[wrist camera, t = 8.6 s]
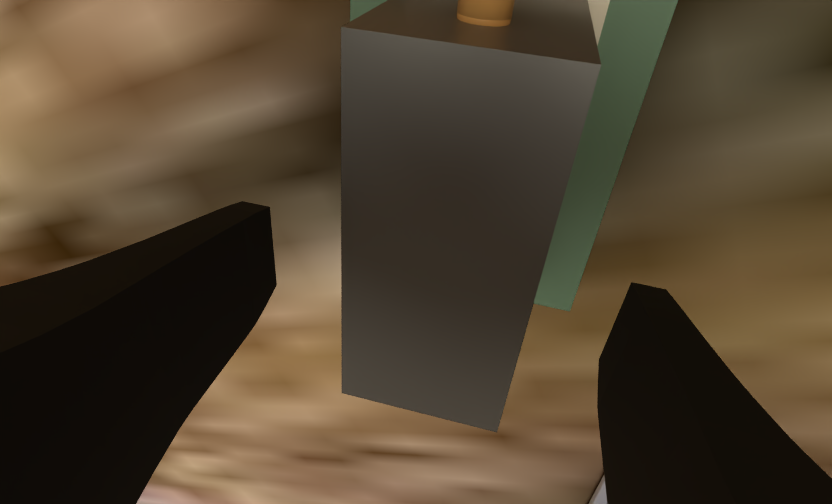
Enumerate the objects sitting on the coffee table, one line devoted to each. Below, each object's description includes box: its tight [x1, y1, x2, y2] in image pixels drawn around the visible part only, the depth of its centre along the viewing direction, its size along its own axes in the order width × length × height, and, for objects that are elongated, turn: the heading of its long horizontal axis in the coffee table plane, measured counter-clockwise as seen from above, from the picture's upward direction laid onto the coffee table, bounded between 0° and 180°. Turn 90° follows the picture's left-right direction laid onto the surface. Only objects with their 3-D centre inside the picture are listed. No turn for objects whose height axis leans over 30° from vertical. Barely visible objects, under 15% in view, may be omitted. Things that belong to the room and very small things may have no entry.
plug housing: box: [341, 0, 601, 432], centre depth 12 cm, size 4×12×6 cm, turn 175°
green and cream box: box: [350, 0, 678, 311], centre depth 14 cm, size 8×10×5 cm
